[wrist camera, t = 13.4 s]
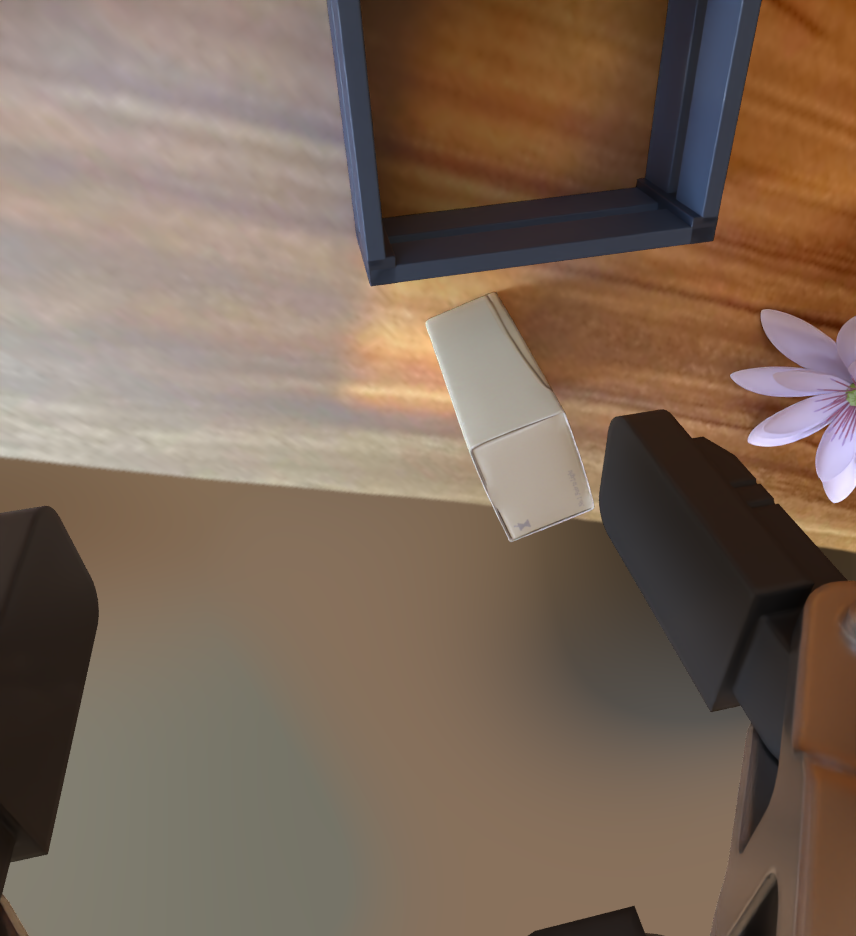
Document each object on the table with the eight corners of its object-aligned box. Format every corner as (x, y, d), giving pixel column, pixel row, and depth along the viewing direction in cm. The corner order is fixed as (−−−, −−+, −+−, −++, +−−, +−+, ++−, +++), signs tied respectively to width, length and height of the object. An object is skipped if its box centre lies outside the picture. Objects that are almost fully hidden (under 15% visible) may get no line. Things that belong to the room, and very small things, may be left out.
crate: (356, 237, 34) (370, 287, 30) (319, -57, 27) (329, -52, 22) (656, 199, 36) (713, 241, 31) (697, -88, 28) (780, -90, 24)
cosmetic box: (525, 376, 41) (600, 511, 32) (455, 405, 41) (510, 547, 32) (494, 285, 37) (570, 408, 28) (418, 318, 37) (467, 451, 28)
